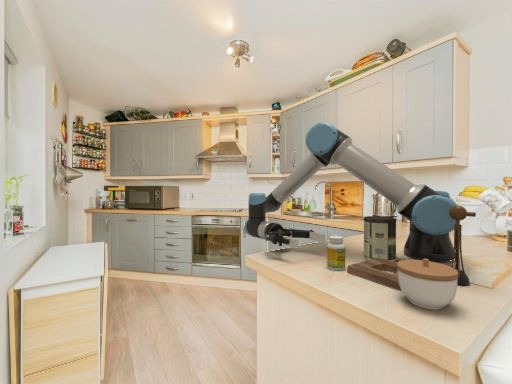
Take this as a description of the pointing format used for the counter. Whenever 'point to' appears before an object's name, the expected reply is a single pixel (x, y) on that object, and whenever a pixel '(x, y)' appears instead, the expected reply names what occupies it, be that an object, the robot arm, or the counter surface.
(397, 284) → the walnut socket plate
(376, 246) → the coffee can
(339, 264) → the supplement bottle
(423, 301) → the lidded jar
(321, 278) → the counter surface
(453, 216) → the wooden tabletop sculpture
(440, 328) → the counter surface
